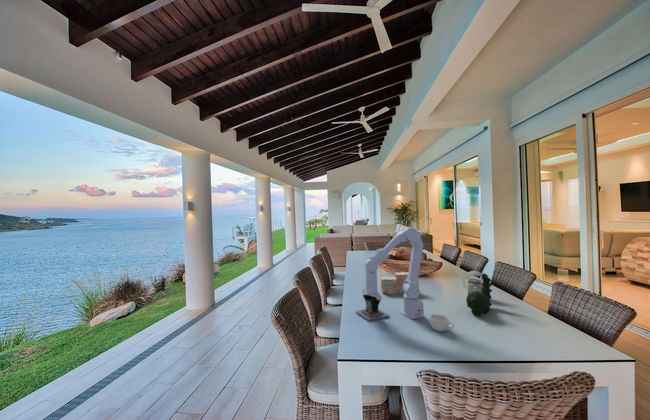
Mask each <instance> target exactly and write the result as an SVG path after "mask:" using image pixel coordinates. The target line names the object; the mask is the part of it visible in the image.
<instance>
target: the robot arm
mask: <svg viewBox="0 0 650 420" xmlns="http://www.w3.org/2000/svg"><path fill="white" fill-rule="evenodd" d="M403 242H404V243H405V242H408V243H409V244H410V245H411V246H412V248H411V254H410V259H409V264H408V270H407V271H408V276H407V278H406V280H405V283H404V284H403V287H402V288H403V291H404V292H405V294H403V310H402V311H400V314H401V315H402V316H405V317H407V318H408V319H411V320H416V319H421V318H425V317H426V315H425V314H424V313H425V312H424V310H425V309H424V302H423V301H422V300H421V299H420V297H419V296H420V294H421V291H420V283H419V275H420V270H421V264H422V263H421V262H422V259H423V258H422V257H423V250H424V242H423V239H422V237H421V233H420V232H419V230H417V229H416V228H414V227H410V226H405V227H402V228H401V230H399V231H398V232H397V233H396V234H395V235H394V237H393V238H392V239H391V240H389V242H388V243H387V244H386V245H385V246H384V247H382V248H379V249H376V250H375V253H374V254H373V255H371V256H370V257H369V259H367V260H366V261H365V262H364V268H365V287H364V288H362V293H363V294H362V297H363V299H364V301H365V302H366V300H369V299H370V301H371V304H372V311H373V312H377V309H379V305H380V303H381V301H382V300H383V299H382V298H383V297H382V295H381V294H380V293H379V292H378V274H377V272H378V269H379V266H381V265H382V263H384V262H385V261H386V259H388V257H389V253H390V252H391V251H393V249H394V248H396V247H397V246H398V245H399V244H400V243H403Z"/></svg>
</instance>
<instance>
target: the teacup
mask: <svg viewBox="0 0 650 420" xmlns="http://www.w3.org/2000/svg"><path fill="white" fill-rule="evenodd" d="M429 324H430V327H431V328H432V329H433V330H434V331H436V332H439V333H443V332H446V331H447V330H451V329H453V328H454V327H455V325H454V323H453V322H452V321H450V318H449V317H448V316H446V315H444V314H439V313H434V314H431V315H429ZM449 325H452V326H451V327H450V326H449Z"/></svg>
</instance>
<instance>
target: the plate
mask: <svg viewBox="0 0 650 420" xmlns="http://www.w3.org/2000/svg"><path fill="white" fill-rule="evenodd" d="M355 313H356V315H358V316H359V317H361V318H362V319H364V320H365V321H366V322H373V321H379V320H383V319H387V318H390V314H388V313H386V312H384V311H383V310H381V309H379V308H378V313H375V314H371V315H370V314H369V313H367V312H366V308H365V309H361V310H356V312H355Z"/></svg>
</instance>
